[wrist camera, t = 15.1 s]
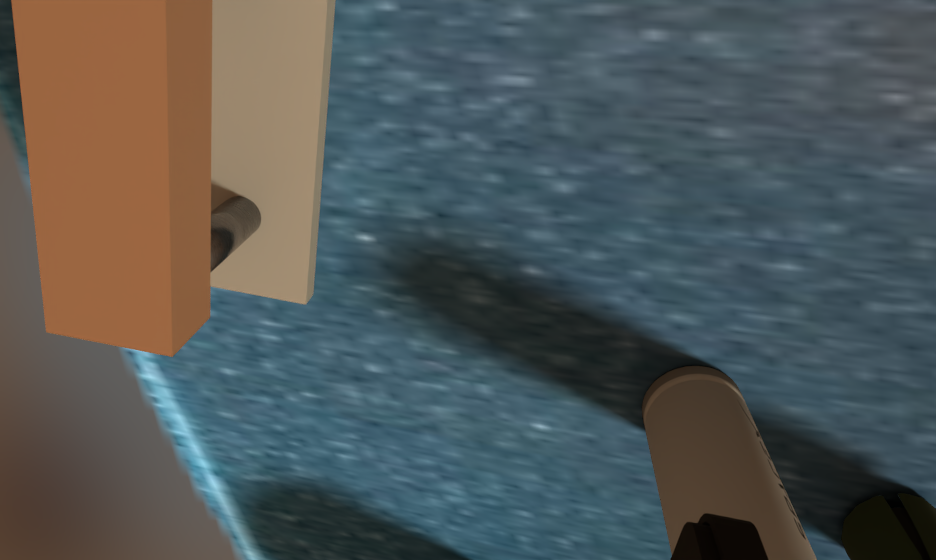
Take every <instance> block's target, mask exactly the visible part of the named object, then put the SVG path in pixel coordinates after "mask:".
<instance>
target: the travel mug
mask: <svg viewBox="0 0 936 560" xmlns="http://www.w3.org/2000/svg"><path fill="white" fill-rule="evenodd" d="M642 417H643V421H644V426H645V429H646V435H647V440H648V445H649V449H650V454H651V459H652V464H653V468H654V473H655V478H656V482H657V487H658V492H659V496H660V501H661V506H662V510H663V515H664V520H665V525H666V529H667V534H668V539H669V543H670V548H671V553H672V554H673V552H674V549H675V547H676V544H677V541H678V539H679V536H680V533H681V531H682V529H683V527H684V525H685V524H686V523H687V522H693V523H698V521H699V519H700V517H701V516H702V515H703V514H705V513H709V514H715V515H720V516H725V517H730V518H735V519H740V520H745V521H750V522H752V523H753V524H754V525H755V527H756V529H757V530H758V533H759V535H760V538H761V541H762V543H763V546H764V549H765V551H766V554H767V557H768V559H769V560H817V559H816V557H815V555H814V552H813V550H812V548H811V546H810V544H809V541H808V539H807V537H806V535H805V533H804V530H803V528H802V526H801V524H800V522H799V519H798V517H797V515H796V513H795V511H794V508H793V506H792V504H791V502H790V500H789V497H788V495H787V493H786V491H785V489H784V486H783V484H782V482H781V480H780V478H779V475H778V473H777V471H776V469H775V467H774V464H773V462H772V460H771V458H770V456H769V453H768V451H767V449H766V447H765V445H764V442H763V440H762V438H761V436H760V434H759V431H758V429H757V427H756V425H755V423H754V420H753V418H752V416H751V414H750V412H749V409H748V407H747V405H746V403H745V401H744V398H743V396H742V394H741V392H740V390H739V388H738V386H737V385H736V384H735V382H734V381H733V380H732V379H731V378H730V377H728V376H727V375H725V374H724V373H722V372H720V371H718V370H716V369H712V368H709V367H703V366H687V367H682V368H678V369H674V370H672V371H670V372H667V373H666V374H664V375H663V376H661V377H659V378H658V379H657V380H656V381H655V382H654V383H653V384H652V385H651V386H650V388H649V389H648V390H647V392H646V394H645V397H644V399H643V404H642Z"/></svg>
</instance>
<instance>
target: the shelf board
mask: <svg viewBox="0 0 936 560" xmlns="http://www.w3.org/2000/svg"><path fill="white" fill-rule="evenodd" d="M11 2H12V11H13V21H14V30H15V40H16V49H17V59H18V68H19V78H20V87H21V97H22V106H23V116H24V125H25V135H26V144H27V154H28V163H29V173H30V182H31V192H32V201H33V211H34V220H35V230H36V239H37V249H38V258H39V268H40V277H41V287H42V296H43V306H44V314H45V325H46V332H48V333H53V334H58V335H63V336H68V337H73V338H78V339H83V340H89V341H94V342H99V343H104V344H109V345H114V346H119V347H125V348H130V349H135V350H140V351H145V352H150V353H155V354H160V355H166V356H171V357H173V356H174V355H175V354H176V353H177V352H178V350H179V349H180V348H181V347H182V346H183V345H184V344H185V343H186V342H187V341H188V340H189V339H190V338H191V337H192V336H193V335H194V334H195V333H196V332H197V331H198V330H199V328H200V327H201V326H202V325H203V324H204V323H205V322H206V321H207V320H208V319H209V318H210V263H211V123H212V0H11Z"/></svg>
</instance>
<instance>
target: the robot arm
mask: <svg viewBox="0 0 936 560" xmlns="http://www.w3.org/2000/svg"><path fill="white" fill-rule="evenodd" d="M671 560H769V559H768V557H767V554H766V551H765V549H764V546H763V543H762V541H761V538H760V535H759V533H758V530H757V529H756V527H755V525H754V524H753V523H752V522H750V521H745V520H740V519H735V518H730V517H725V516H720V515H715V514H709V513H705V514H703V515H702V516H701V517H700V519H699V521H698V523H693V522H687V523H686V524H685V525H684V527H683V529H682V531H681V533H680V536H679V539H678V541H677V544H676V547H675V549H674V552H673V554H672V557H671Z"/></svg>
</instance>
